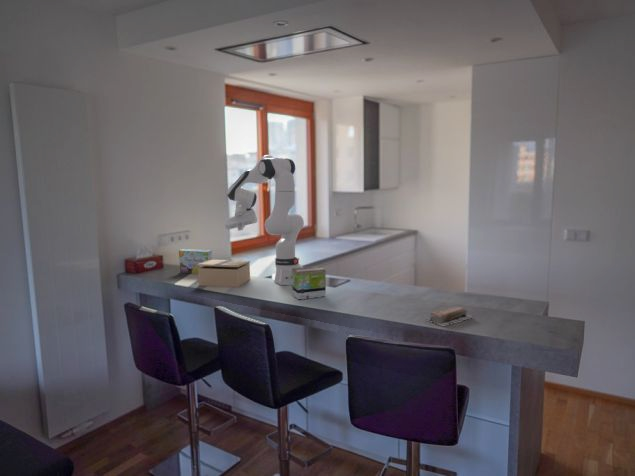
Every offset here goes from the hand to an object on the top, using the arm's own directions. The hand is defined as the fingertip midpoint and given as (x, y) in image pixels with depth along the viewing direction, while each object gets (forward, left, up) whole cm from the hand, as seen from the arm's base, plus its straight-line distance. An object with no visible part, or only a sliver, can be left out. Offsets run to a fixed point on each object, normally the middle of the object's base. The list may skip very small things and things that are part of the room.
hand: (240, 229), depth 287 cm
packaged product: (-122, +64, -29) cm, 141 cm away
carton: (+3, +19, -28) cm, 34 cm away
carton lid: (+3, +19, -18) cm, 26 cm away
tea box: (-53, +39, -29) cm, 72 cm away
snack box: (+32, -1, -29) cm, 43 cm away
